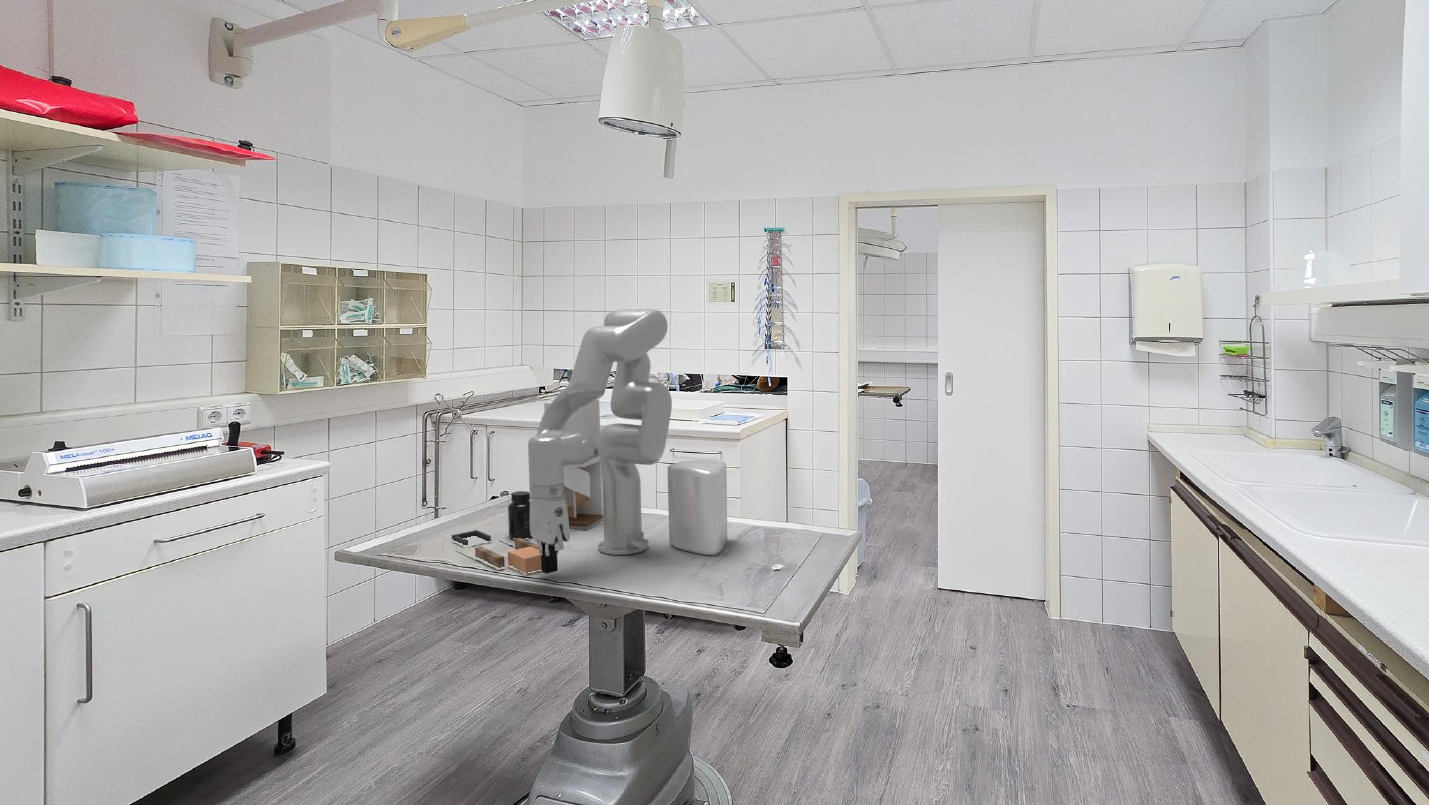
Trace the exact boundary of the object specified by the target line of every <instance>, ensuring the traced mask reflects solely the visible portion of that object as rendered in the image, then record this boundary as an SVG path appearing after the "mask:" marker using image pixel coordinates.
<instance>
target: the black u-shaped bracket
mask: <svg viewBox="0 0 1429 805" xmlns="http://www.w3.org/2000/svg"><path fill="white" fill-rule="evenodd" d="M471 536H477V537H479V538H482V539H484V540H486V541H491V542H492V538H491V537H492V536H491V535H489V534H487V533H485V532H483V531H481V530H478V529H475V530H472V531H471V530H470V531H465V532H461V533H456V534H451V540H452V539H453V540H454V541H457V542H459V543H462V544H463V545H468V540H466V539H463V538H467V537H471Z"/></svg>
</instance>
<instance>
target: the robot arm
mask: <svg viewBox="0 0 1429 805" xmlns="http://www.w3.org/2000/svg"><path fill="white" fill-rule="evenodd" d="M667 333H668V320H667V318H666V316H665V315H664V313H663V312H661V311H660V310H658V309H653V308H641V309H640V308H639V309H633V308H631V309H627V308H626V309H617V310H616V309H615V310H613V311H610V312H608V313H607V314H606V316H605V318H604V319H603V325H601V326H600V325H599V326H593V327H590V328H588V330H586V332H585V333H584V334H583V337H582V340H581V343H580V346H579V349H578V353H577V356H576V359H575V362H574V363H575V364H574V366H573V370H572V373H571V376H570V379H569V382H568V384H567V386H566V387H565V388H564V389H562V390H561V392H559V394H557V395H556V397H555V398H554V399H553V400H552V401H550V402H551V404H550V405H549V406H548V407H547V409H546V410H545V411H544V412H543V415H542V417H541V420H540V422H539V426H538V430H537V433H536V435H533V436H532V437H530V438H529V439H528V442H527V451H528V452H527V453H528V455H527V456H528V484H529V493H530V500H529V501H530V534H531V536H532V539H534V541H535V544H537V545H539V550H540V554H543V555H541V570H542V571H541V572H542V573H543V574H545V575H546V574H551V573H554V572H558V570H559V569H558V568H559V567H558V555H559V552H560V551H561V550H564V548H565V546H564V542H566V543H567V542H569V541H570V538H571V534H570V531H571V530H569V519H568V511H567V505H566V501H565V498H564V468H563V467H564V466H565V465H579V464H583V463H586V462H587V461H589V460H590V459H591V458H592V457H593V455H594V453H595V442H594V440H593V438H592V437H591V436H590V435H588V434H586V433H584V432H579V431H570V430H563V429H564V426H565V424H566V422H567V420H568V419H569V418H570V416H571V415H572V414H573V413H574V412H576V411H577V410H578V409H580V408H582V407H583V406H585V405H587V404H589V403H592V402H593V401H595V400H600V399H601V398H602V397H603V396H604V395H605V393H606V388H607V385H608V381H609V379H610V375H611V372H612V368H613V365H614V363H616V368H615V375H614V381H613V386H612V392H611V397H610V412H612V414H613V415H614V416H615V417H617V418H621V419H624V420H625V419H626V420H632V421H633V420H634V421H635V420H636V421H641V423H640V425H639V424H632V423H616V422H615V423H610V424H607V425H604V427H602V428H600V432H599V434H598V437H597V450H598V454H599V458H600V463H601V470H602V498H603V540H602V541H600V542H598V544H597V549H598V551H599V552H600V553H603V554H606V555H612V556H613V555H614V556H625V555H634V554H638V553H642V552H644V551H645V550H647V549H649V543H650V541H649V540H648V539H646V538H645V536H644V531H643V529H642V528H643V526H642V525H643V524H642V521H643V520H642V519H643V518H642V491H641V490H642V489H641V488H642V486H641V484H642V483H641V476H640V472H639V469H638V468H637V465H646V466H651V465H655V464H657V463H658V462H660V460H661V458H662V457H663V455H664V453H665V448H666V445H667V444H666V443H667V439H668V438H667V437H668V433H669V427H670V422H671V421H670V420H671V415H672V409H673V407H672V406H673V402H672V401H673V400H672V396H671V395H672V394H671V393H670V391H669V389H668V387H666V385H664V384H663V383H660V382H655V381H654V382H653V381H650V375H651V360H650V357H649V354H648V352H649V351H650V350H652V349H654V348H655V347H657V346H658V345H659V344H660V343H661V342H663V340H664V338H665V337H666V335H667Z"/></svg>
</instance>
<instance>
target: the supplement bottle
mask: <svg viewBox="0 0 1429 805" xmlns="http://www.w3.org/2000/svg"><path fill="white" fill-rule="evenodd" d="M510 497H511V498H510V501H511V503H509V504H508V506H507V517H508V518H507V519H508V520H507V525H508V537H509V538H510V539H511V538H515V539H516V538H522V539H525V538H530V539H532V538H533V537H532V536H531V534H530V501H531V499H530V491H525V490H524V491H522V490H521V491H514V492H511V495H510ZM531 537H532V538H531Z"/></svg>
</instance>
